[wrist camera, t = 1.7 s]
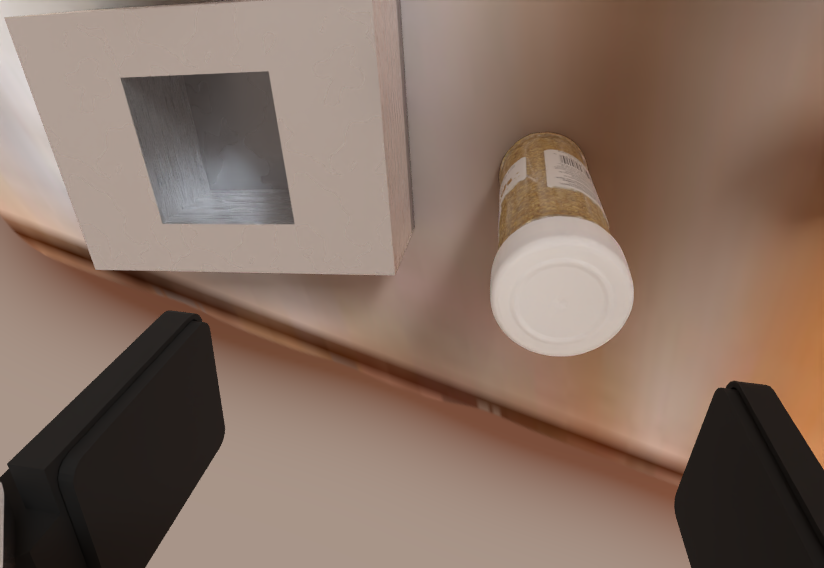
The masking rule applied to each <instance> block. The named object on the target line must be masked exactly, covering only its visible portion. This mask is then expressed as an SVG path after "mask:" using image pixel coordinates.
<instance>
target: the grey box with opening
mask: <svg viewBox="0 0 824 568" xmlns="http://www.w3.org/2000/svg"><path fill="white" fill-rule="evenodd" d="M5 21H6V24H7V26H8V29H9V32H10V35H11V37H12V40H13V43H14V46H15V48H16V51H17V54H18V57H19V59H20V62H21V65H22V68H23V70H24V73H25V76H26V79H27V82H28V84H29V87H30V90H31V93H32V95H33V98H34V101H35V104H36V106H37V109H38V112H39V115H40V117H41V120H42V123H43V126H44V128H45V131H46V134H47V137H48V139H49V142H50V145H51V148H52V150H53V153H54V156H55V159H56V162H57V164H58V167H59V170H60V173H61V175H62V178H63V181H64V184H65V186H66V189H67V192H68V195H69V197H70V200H71V203H72V206H73V208H74V211H75V214H76V217H77V219H78V222H79V225H80V228H81V230H82V233H83V236H84V239H85V242H86V244H87V247H88V250H89V253H90V255H91V258H92V261H93V264H94V266H95V269H96V270H139V271H190V272H242V273H293V274H344V275H396V272H397V270H398V267H399V264H400V262H401V259H402V257H403V254H404V252H405V249H406V247H407V244H408V242H409V239H410V237H411V234H412V232H413V229H414V227H415V226H414V210H413V195H412V179H411V163H410V147H409V132H408V116H407V100H406V85H405V69H404V53H403V38H402V22H401V6H400V0H230V1H215V2H200V3H185V4H170V5H155V6H140V7H125V8H110V9H95V10H84V11H73V12H61V13H50V14H39V15H28V16H17V17H6V18H5Z"/></svg>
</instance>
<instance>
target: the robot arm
mask: <svg viewBox="0 0 824 568" xmlns="http://www.w3.org/2000/svg"><path fill="white" fill-rule="evenodd" d="M224 434H225V425H224V418H223V411H222V405H221V398H220V392H219V386H218V379H217V372H216V366H215V359H214V352H213V346H212V339H211V333H210V328H209V325H208V324H207V323H205V322H202V319H201V317H200V316H199V315H198V314H194V313H186V312H178V311H166V312H165V313H163V314H162V315H161V316H160V317H159V318H158V319H157V320H156V321H155V322H154V323H153V324H152V325H151V326H150V327H149V328H148V329H146V330H145V331H144V332H143V333H142V334H141V335H140V336H139V337H138V338H137V339H136V340H135V341H134V342H133V343H132V344H131V345H130V346H129V347H128V348H127V349H126V350H125V351H124V352H123V353H122V354H121V355H119V356H118V357H117V358H116V359H115V360H114V362H112V363H111V364H110V365H109V366H108V367H107V368H106V369H105V370H104V371H103V372H102V373H101V374H100V375H99V376H98V377H97V378H96V379H95V380H94V381H92V382H91V384H89V386H87V387H86V388H85V389H84V390H83V391H82V392H81V393H80V394H79V395H78V396H77V397H76V398H75V399H74V400H73V401H72V402H71V403H70V404H69V405H68V406H67V407H66V408H64V410H62V411H61V412H60V413H59V414H58V415H57V416H56V417H55V418H54V419H53V420H52V421H51V422H50V423H49V424H48V425H47V426H46V427H45V428H44V429H43V430H42V431H41V432H40V433H39V434H38V435H36V436H35V437H34V438H33V439H32V440H31V441H30V442H29V443H28V444H27V445H26V446H25V447H24V448H23V449H22V450H21V451H20V452H19V453H18V454H17V455H16V456H15V457H14V458H13V459H12V460H11V461H10V462H9V463H8V464H7V465H8V467H9V469H8V470H7V471H6V472H5V473H4V474H3V475H2V476H1V477H0V568H145V567H146V565H147V564H148V562H149V560H150V559H151V557H152V556H153V554H154V552H155V551H156V549H157V548H158V546H159V544H160V543H161V541H162V539H163V538H164V536H165V534H166V533H167V531H168V530H169V528H170V527H171V525H172V524H173V522H174V520H175V519H176V517H177V515H178V514H179V512H180V511H181V509H182V507H183V506H184V504H185V502H186V501H187V499H188V498H189V496H190V495H191V493H192V491H193V490H194V488H195V487H196V485H197V483H198V482H199V480H200V478H201V477H202V475H203V474H204V472H205V470H206V469H207V467H208V466H209V464H210V462H211V461H212V459H213V458H214V456H215V454H216V453H217V451H218V450H219V448H220V446H221V444H222V442H223V438H224ZM674 507H675V514H676V519H677V522H678V525H679V528H680V532H681V535H682V538H683V542H684V545H685V548H686V552H687V555H688V558H689V562H690V565H691V568H824V470H823V468H822V466H821V465H820V463H819V462H818V460H817V459H816V457H815V455H814V454H813V452H812V451H811V449H810V447H809V446H808V444H807V443H806V441H805V439H804V438H803V436H802V435H801V433H800V431H799V430H798V428H797V427H796V425H795V424H794V422H793V420H792V419H791V417H790V416H789V414H788V412H787V411H786V409H785V408H784V406H783V404H782V403H781V401H780V400H779V398H778V397H777V395H776V393H775V392H774V390H773V389H772V388H771V387H770V386H767V385H762V384H754V383H746V382H738V381H732V382H730V383H729V384H728V385H727V386H726V388H718V389H717V390H716V391H715V393H714V395H713V398H712V401H711V403H710V406H709V409H708V411H707V414H706V416H705V419H704V422H703V424H702V427H701V429H700V432H699V435H698V437H697V440H696V443H695V445H694V448H693V450H692V453H691V456H690V458H689V461H688V463H687V466H686V469H685V471H684V474H683V477H682V479H681V482H680V484H679V487H678V490H677V493H676V496H675V506H674Z"/></svg>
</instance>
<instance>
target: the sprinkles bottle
mask: <svg viewBox="0 0 824 568" xmlns="http://www.w3.org/2000/svg"><path fill="white" fill-rule="evenodd" d="M499 183H500V186H501V187H500V193H499V220H498V242H499V245H498V252H497V254H496V256H495V258H494V261H493V265H492V270H491V280H490V302H491V309H492V312H493V315H494V318H495V320H496V322H497V323H498V325H499V327H500V328H501V330H502V331H503V332H504V333H505V334H506V335H507V336H508V337H509V338H510V339H511V340H512V341H513V342H515V343H516V344H518V345H519V346H521V347H523V348H525V349H527V350H529V351H531V352H534V353H538V354H541V355H547V356H574V355H579V354H583V353H586V352H589V351H592V350H594V349H596V348H598V347H600V346H602V345H603V344H605V343H606V342H608V341H609V340H610V339H612V338H613V337H614V336H615V335H616V334H617V333H618V332H619V331H620V330H621V328H622V327H623V326H624V324H625V322H626V321H627V319H628V317H629V315H630V312H631V310H632V306H633V300H634V286H633V280H632V277H631V273H630V270H629V267H628V264H627V261H626V258H625V256H624V254H623V251H622V249H621V247H620V246H619V244H618V243H617V241H616V240H615V239H614V238H613V237H612V236H611V235H610V231H609V225H608V220H607V218H606V215H605V213H604V210H603V208H602V205H601V202H600V200H599V197H598V194H597V192H596V189H595V187H594V184H593V181H592V179H591V176H590V174H589V172H588V167H587V162H586V159H585V157H584V155H583V153H582V151H581V150H580V149H579V147H578V146H577V145H576V144H575V143H574V142H573V141H571V140H570V139H568V138H567V137H565V136H563V135H560V134H556V133H550V132H544V133H534V134H530V135H528V136H526V137H524V138H522V139H520V140H519V141H518V142H516V143H515V144H514V146H512V147H511V148H510V149H509V151H508V152H507V153H506V155H505V156H504V158H503V161H502V164H501V166H500V172H499Z"/></svg>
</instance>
